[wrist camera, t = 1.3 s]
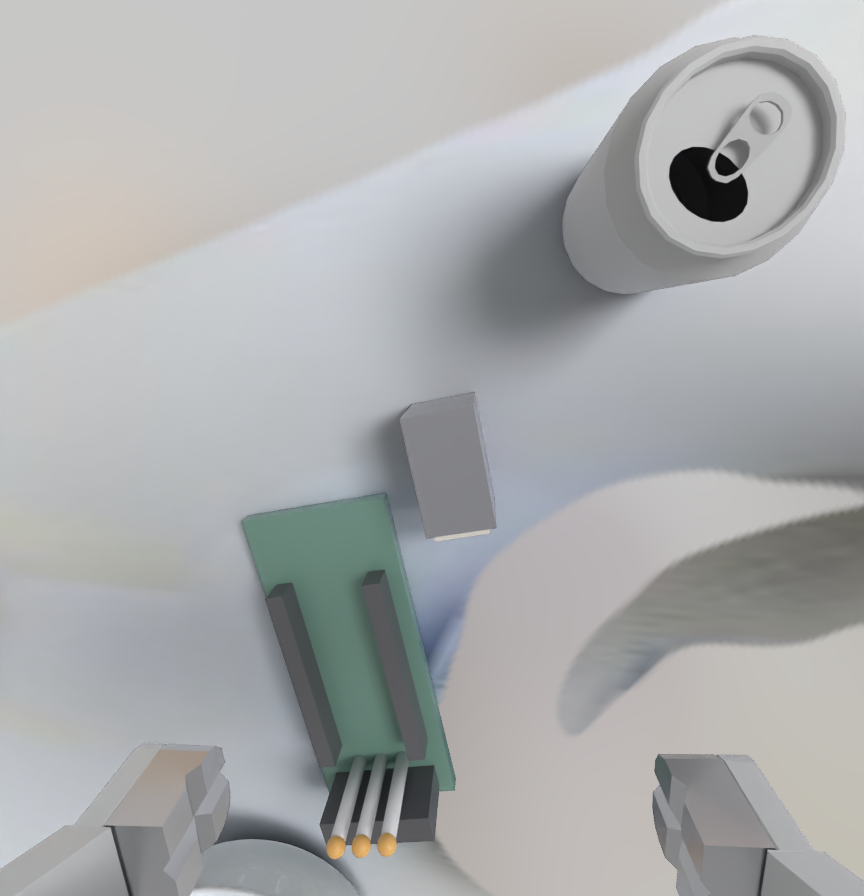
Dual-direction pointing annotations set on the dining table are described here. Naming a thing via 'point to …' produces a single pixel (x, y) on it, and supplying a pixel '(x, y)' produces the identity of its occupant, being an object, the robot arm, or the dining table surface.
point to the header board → (356, 668)
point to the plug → (449, 467)
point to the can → (707, 167)
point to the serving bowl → (267, 871)
